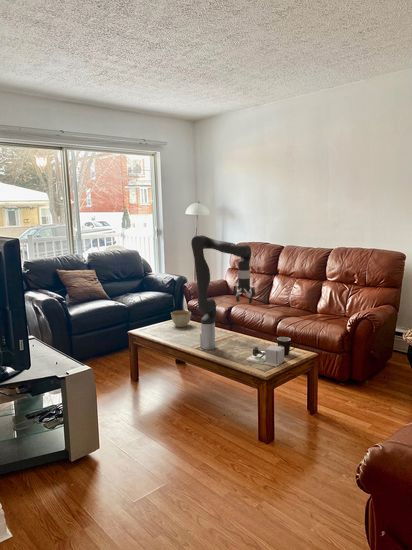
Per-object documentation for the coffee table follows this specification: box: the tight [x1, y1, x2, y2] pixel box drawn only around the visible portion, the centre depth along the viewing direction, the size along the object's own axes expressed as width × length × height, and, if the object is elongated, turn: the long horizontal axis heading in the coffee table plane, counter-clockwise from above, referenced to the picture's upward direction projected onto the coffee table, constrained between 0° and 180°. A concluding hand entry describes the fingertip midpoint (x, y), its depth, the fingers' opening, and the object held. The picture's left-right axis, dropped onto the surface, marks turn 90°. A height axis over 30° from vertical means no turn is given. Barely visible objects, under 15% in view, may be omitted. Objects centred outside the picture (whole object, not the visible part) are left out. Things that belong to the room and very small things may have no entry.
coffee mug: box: [276, 336, 297, 357], centre depth 257 cm, size 12×9×10 cm
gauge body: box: [245, 344, 285, 367], centre depth 248 cm, size 20×12×9 cm, turn 58°
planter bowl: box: [170, 310, 192, 328], centre depth 328 cm, size 16×16×11 cm
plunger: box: [252, 346, 265, 358], centre depth 247 cm, size 14×9×6 cm, turn 58°
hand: (244, 302), depth 258 cm, fingers open, 8 cm apart
